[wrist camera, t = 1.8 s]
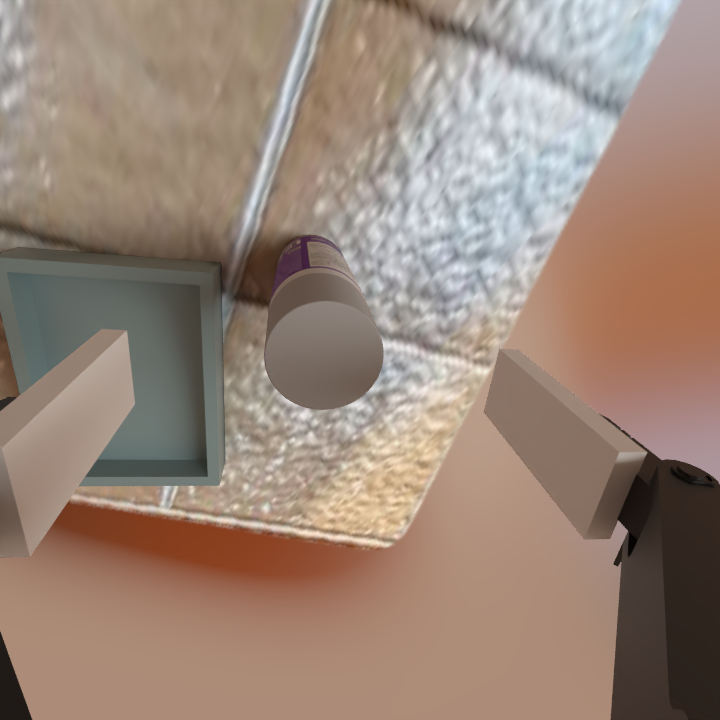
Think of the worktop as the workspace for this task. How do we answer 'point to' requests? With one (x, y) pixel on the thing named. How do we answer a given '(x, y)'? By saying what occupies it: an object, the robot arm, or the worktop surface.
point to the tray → (146, 347)
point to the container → (320, 328)
